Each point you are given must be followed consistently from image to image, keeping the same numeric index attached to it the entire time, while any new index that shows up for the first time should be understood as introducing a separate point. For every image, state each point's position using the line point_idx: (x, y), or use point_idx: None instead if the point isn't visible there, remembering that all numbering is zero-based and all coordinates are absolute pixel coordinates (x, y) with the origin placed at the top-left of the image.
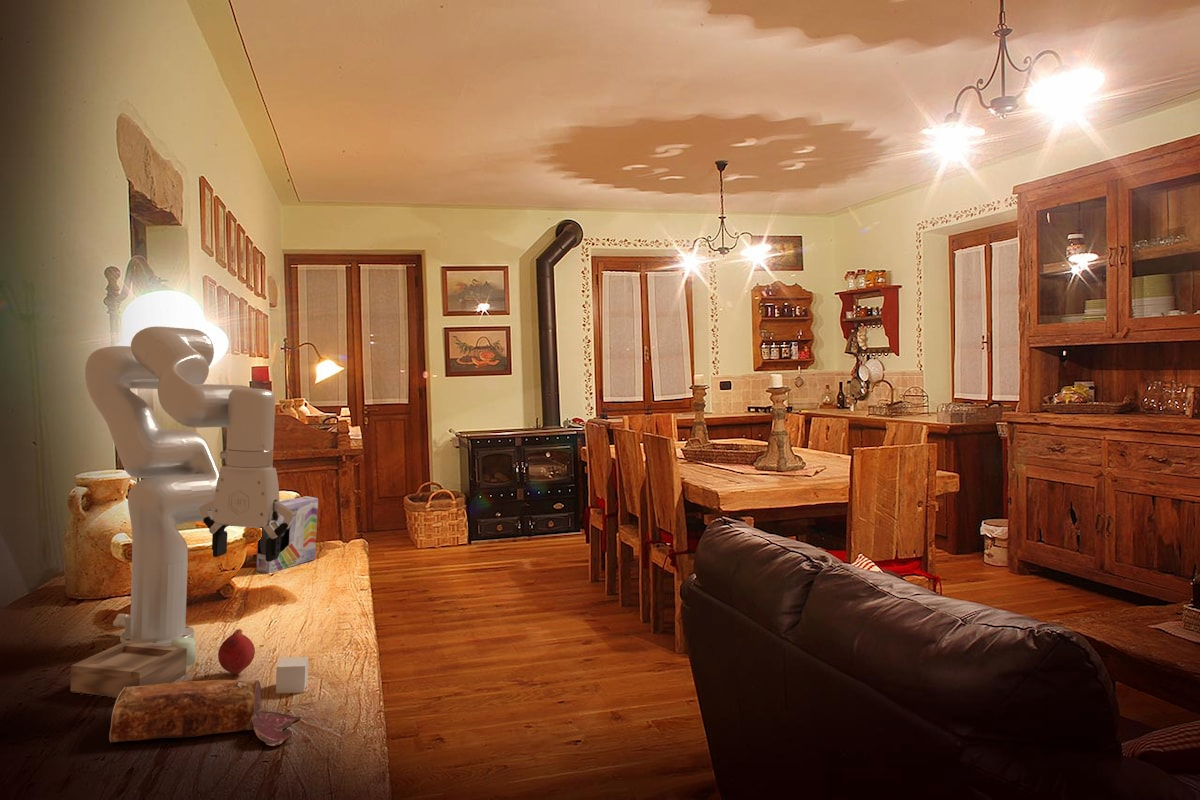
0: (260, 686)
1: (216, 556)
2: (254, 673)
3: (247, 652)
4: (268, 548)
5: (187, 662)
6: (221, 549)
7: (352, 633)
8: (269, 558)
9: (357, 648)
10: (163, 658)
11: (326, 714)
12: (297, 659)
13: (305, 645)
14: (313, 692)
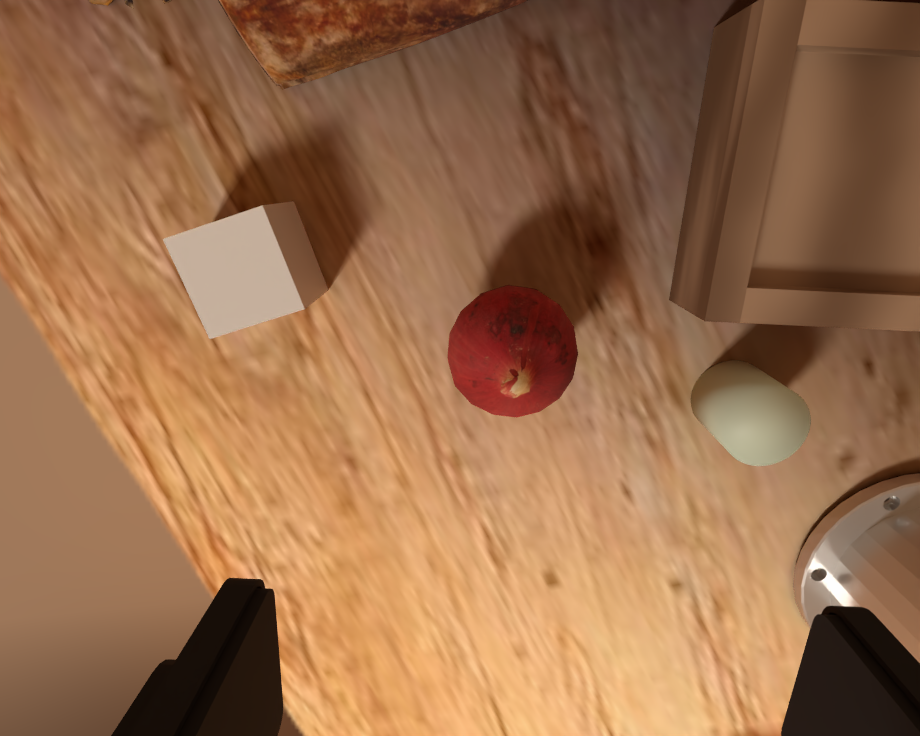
0: (243, 40)
1: (827, 618)
2: None
3: (454, 331)
4: (169, 687)
5: (706, 378)
6: (835, 723)
7: (336, 716)
8: (216, 600)
9: None
10: (743, 188)
11: (27, 53)
12: (233, 303)
13: (421, 604)
14: None
